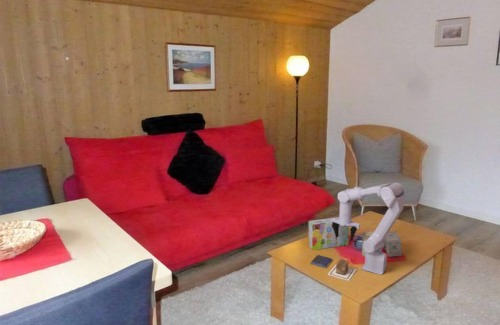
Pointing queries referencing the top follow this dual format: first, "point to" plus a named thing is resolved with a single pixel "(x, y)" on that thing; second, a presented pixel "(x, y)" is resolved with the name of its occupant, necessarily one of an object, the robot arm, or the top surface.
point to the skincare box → (365, 237)
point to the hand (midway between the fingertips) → (344, 238)
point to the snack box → (326, 234)
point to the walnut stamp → (342, 267)
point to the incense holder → (393, 244)
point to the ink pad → (321, 261)
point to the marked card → (344, 277)
